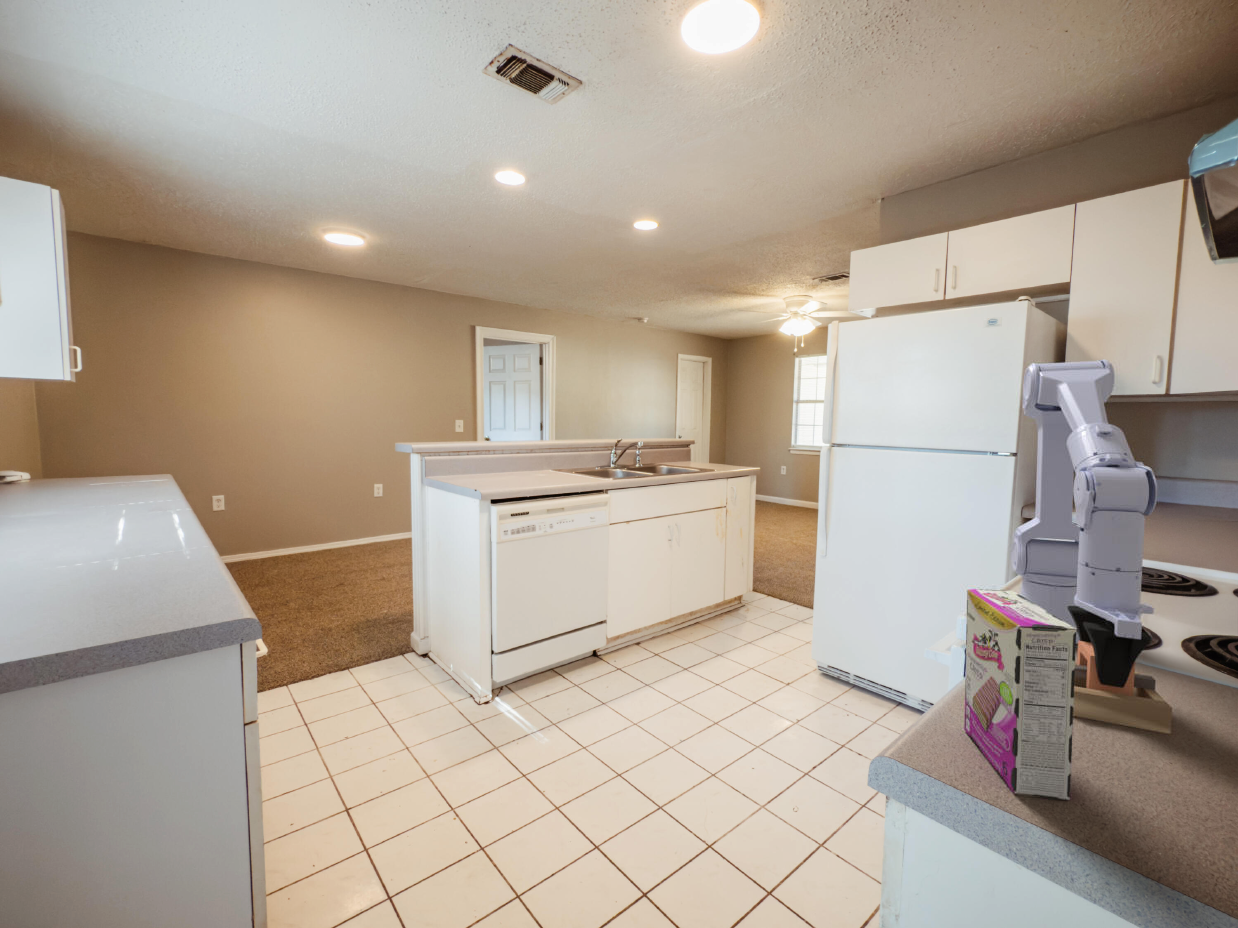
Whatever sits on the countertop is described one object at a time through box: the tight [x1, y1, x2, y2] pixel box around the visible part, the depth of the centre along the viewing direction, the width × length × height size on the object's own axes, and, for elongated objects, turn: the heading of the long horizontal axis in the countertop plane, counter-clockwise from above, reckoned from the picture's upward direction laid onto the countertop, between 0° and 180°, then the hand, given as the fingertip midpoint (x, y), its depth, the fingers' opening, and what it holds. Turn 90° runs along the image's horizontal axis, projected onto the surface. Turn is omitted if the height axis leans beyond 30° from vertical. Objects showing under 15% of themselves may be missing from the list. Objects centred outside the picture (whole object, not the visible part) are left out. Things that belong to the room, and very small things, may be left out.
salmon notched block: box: [1076, 641, 1136, 696], centre depth 65 cm, size 5×4×4 cm
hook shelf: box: [1073, 661, 1173, 735], centre depth 66 cm, size 10×9×4 cm
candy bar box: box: [963, 588, 1078, 801], centre depth 54 cm, size 11×5×16 cm, turn 168°
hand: (1103, 675), depth 65 cm, fingers closed on salmon notched block, 5 cm apart
